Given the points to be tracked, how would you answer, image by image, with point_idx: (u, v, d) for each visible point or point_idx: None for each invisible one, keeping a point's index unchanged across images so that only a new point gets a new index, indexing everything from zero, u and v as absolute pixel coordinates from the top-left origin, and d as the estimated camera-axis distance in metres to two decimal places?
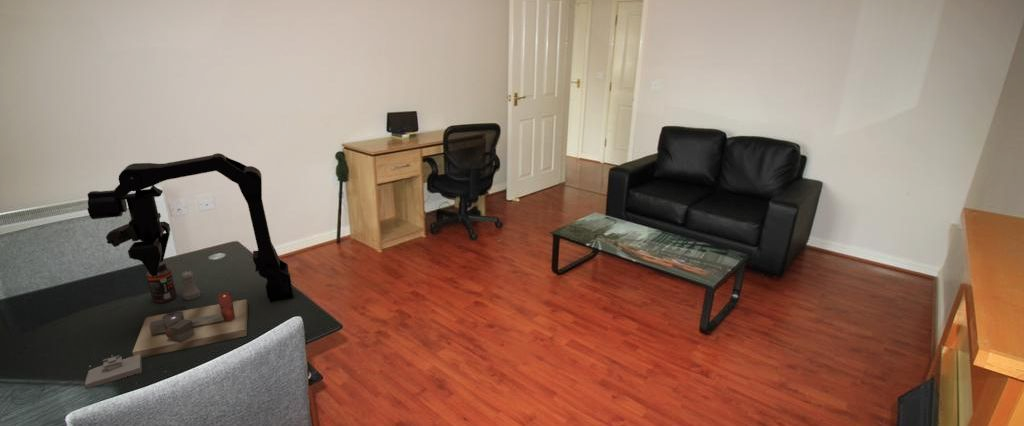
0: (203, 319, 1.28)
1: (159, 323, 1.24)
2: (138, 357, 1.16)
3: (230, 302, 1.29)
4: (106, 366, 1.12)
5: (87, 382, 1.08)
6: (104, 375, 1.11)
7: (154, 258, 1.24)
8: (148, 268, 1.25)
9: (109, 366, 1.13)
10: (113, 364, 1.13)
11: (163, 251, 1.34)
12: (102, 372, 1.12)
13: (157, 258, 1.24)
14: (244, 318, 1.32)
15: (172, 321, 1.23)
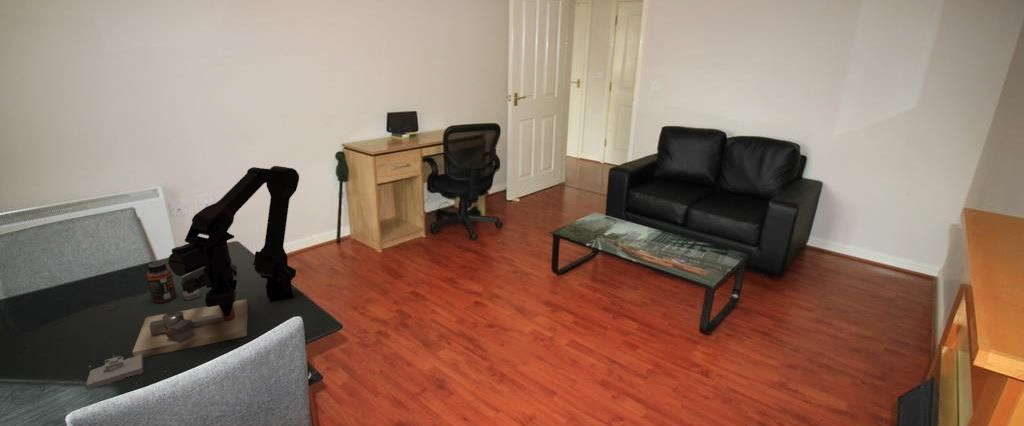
0: (203, 319, 1.28)
1: (159, 323, 1.24)
2: (139, 357, 1.16)
3: None
4: (107, 366, 1.12)
5: (88, 382, 1.08)
6: (105, 376, 1.10)
7: None
8: (222, 309, 1.27)
9: (110, 366, 1.13)
10: (114, 364, 1.13)
11: None
12: (103, 372, 1.12)
13: None
14: (244, 318, 1.32)
15: (172, 321, 1.23)
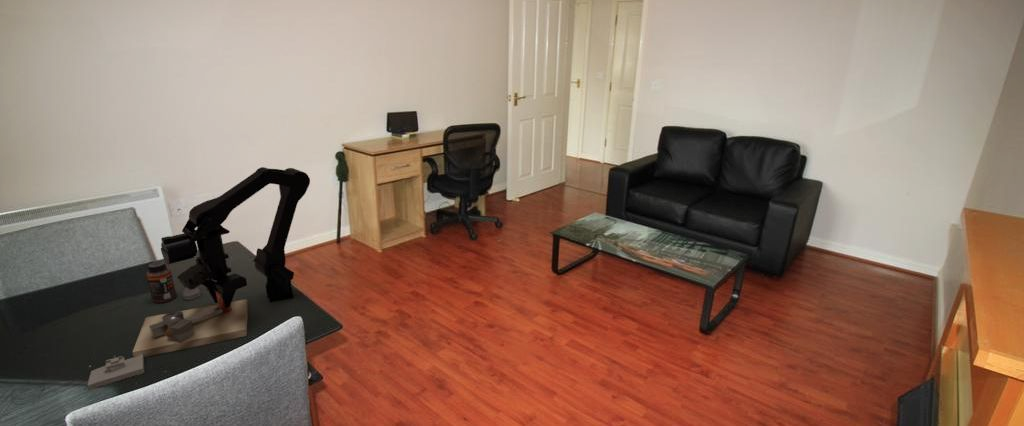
0: (203, 315, 1.30)
1: (160, 325, 1.23)
2: (141, 358, 1.16)
3: None
4: (109, 367, 1.12)
5: (90, 383, 1.08)
6: (106, 376, 1.10)
7: None
8: (224, 300, 1.31)
9: (112, 367, 1.13)
10: (116, 365, 1.13)
11: None
12: (105, 373, 1.12)
13: None
14: (244, 318, 1.32)
15: (176, 320, 1.24)
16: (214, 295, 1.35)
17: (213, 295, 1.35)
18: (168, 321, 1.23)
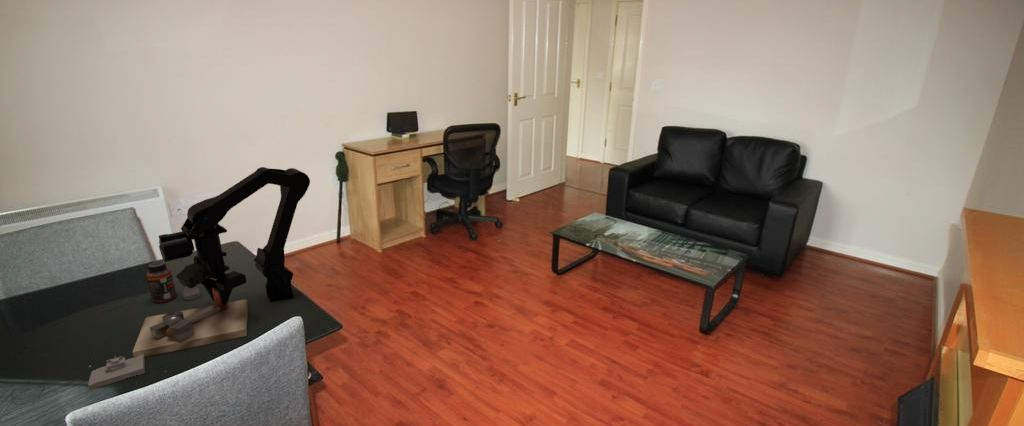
0: (202, 313, 1.31)
1: (161, 325, 1.23)
2: (141, 358, 1.16)
3: None
4: (109, 367, 1.12)
5: (90, 383, 1.08)
6: (107, 376, 1.10)
7: None
8: (222, 297, 1.33)
9: (112, 367, 1.12)
10: (116, 365, 1.13)
11: None
12: (105, 373, 1.12)
13: None
14: (244, 318, 1.32)
15: (177, 319, 1.24)
16: (212, 294, 1.35)
17: (211, 294, 1.35)
18: (170, 321, 1.23)
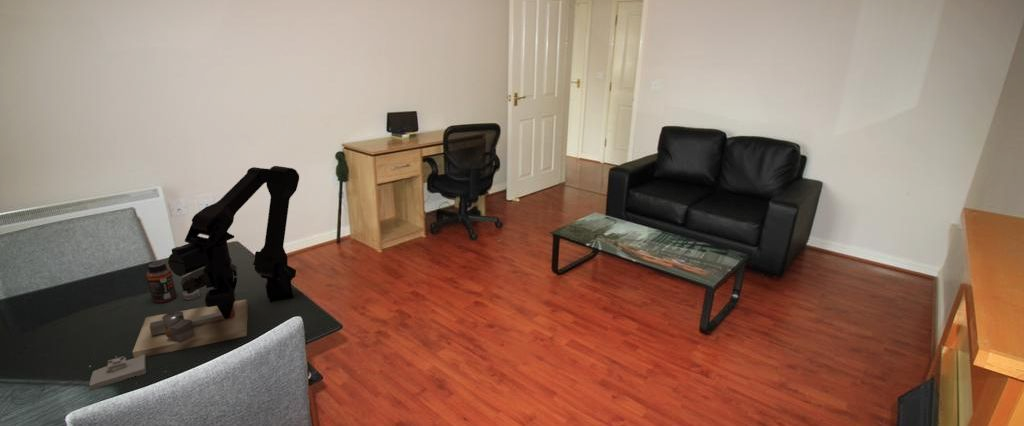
0: (204, 318, 1.28)
1: (159, 323, 1.24)
2: (142, 358, 1.16)
3: None
4: (110, 367, 1.12)
5: (91, 383, 1.08)
6: (108, 376, 1.10)
7: None
8: (221, 311, 1.26)
9: (113, 367, 1.12)
10: (117, 365, 1.13)
11: None
12: (106, 373, 1.12)
13: None
14: (244, 318, 1.32)
15: (173, 321, 1.23)
16: None
17: None
18: (165, 321, 1.23)
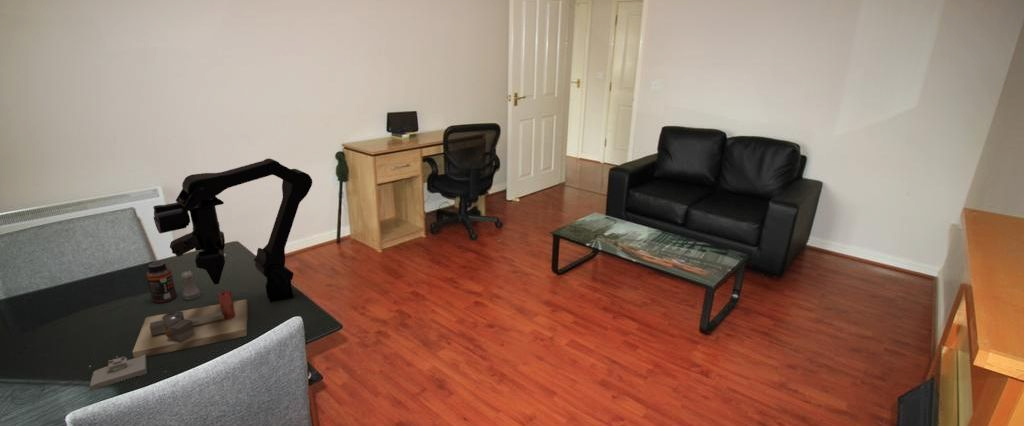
0: (204, 318, 1.28)
1: (159, 323, 1.24)
2: (143, 358, 1.16)
3: (230, 300, 1.30)
4: (111, 367, 1.12)
5: (92, 383, 1.08)
6: (109, 376, 1.10)
7: (218, 267, 1.27)
8: (211, 276, 1.27)
9: (114, 367, 1.12)
10: (118, 365, 1.13)
11: None
12: (107, 373, 1.12)
13: (221, 266, 1.27)
14: (244, 318, 1.32)
15: (173, 321, 1.23)
16: None
17: None
18: (165, 321, 1.23)
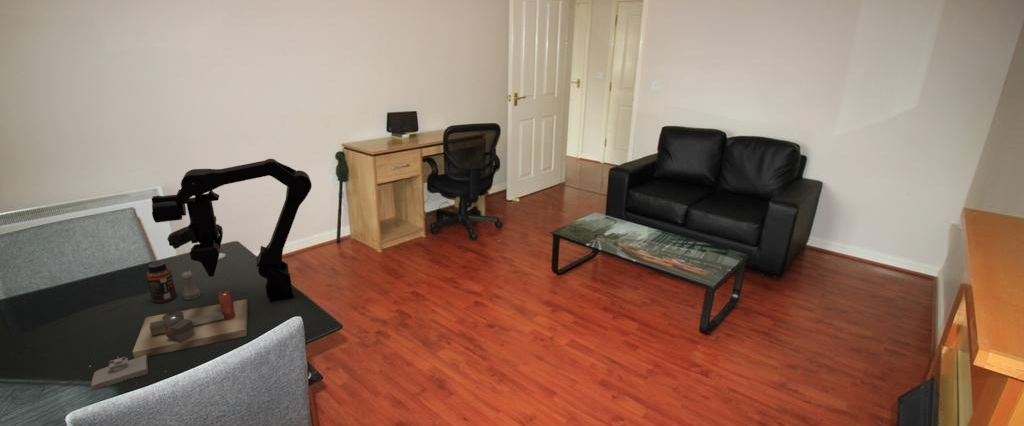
0: (204, 318, 1.28)
1: (159, 323, 1.24)
2: (144, 358, 1.16)
3: (230, 300, 1.30)
4: (112, 367, 1.12)
5: (93, 383, 1.08)
6: (110, 376, 1.10)
7: (212, 259, 1.30)
8: (206, 269, 1.31)
9: (115, 367, 1.12)
10: (119, 365, 1.13)
11: None
12: (108, 373, 1.12)
13: (215, 259, 1.31)
14: (244, 318, 1.32)
15: (173, 321, 1.23)
16: None
17: None
18: (165, 321, 1.23)
